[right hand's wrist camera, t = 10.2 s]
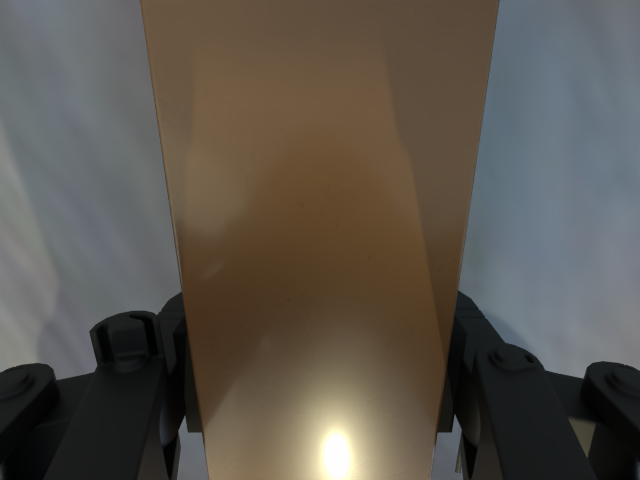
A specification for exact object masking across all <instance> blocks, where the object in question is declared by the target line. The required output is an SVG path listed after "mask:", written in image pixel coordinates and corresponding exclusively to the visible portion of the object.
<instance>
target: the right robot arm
mask: <svg viewBox="0 0 640 480" xmlns="http://www.w3.org/2000/svg"><path fill="white" fill-rule="evenodd" d="M89 333H90V337H91V341H92V345H93V349H94V353H95V357H96V361H97V365H98V366H97V368H96V370H95V372H93V373H89V374H86V375H81V376H76V377H71V378H66V379H61V380H56V377H55V374H54V370H53V369H52V368H51V367H50V366H49V365H46V364H40V363H34V364H25V365H19V366H16V367H12V368H9V369H6V370H5V371H3V372H1V373H0V480H177V473H178V465H179V457H180V449H181V446H180V439H179V433H178V430H179V428H180V425H181V423H182V421H183V418H184V416H186V423H187V429H188V432H202V429H201V422H200V415H199V408H198V401H197V394H196V387H195V380H194V373H193V366H192V359H191V352H190V345H189V338H188V331H187V324H186V317H185V310H184V303H183V296H182V292H181V293H179V294H177V295H176V296H174V297H173V298H171V299H170V300H168V302H167V303H166V304H165V306H164V307H163V308H162V310H161V312H159V314H158V315H155V314H154V313H152V312H148V311H129V312H124V313H119V314H117V315H114V316H111V317H108V318H106V319H104V320H103V321H101V322H99V323H98V324H96V325H95V326H94V327H93V328H92V329H91V330H90V331H89ZM454 415H456V417H457V419H458V422H459V424H460V426H461V429H462V433H461V439H460V445H459V451H458V456H457V462H456V469H455V472H457V473H460V472H461V466H462V472H463V480H640V371H639V370H637V369H635V368H634V367H631V366H628V365H624V364H620V363H613V362H604V361H602V362H595V363H592V364H591V365H589V366H588V367H587V369H586V373H585V376H584V379H582V378H577V377H573V376H568V375H563V374H558V373H553V372H549V371H546V370H545V369H544V367H543V365H542V364H541V363H540V361H539V360H538V359H537V358H536V357H535V356H534V355H532V354H531V353H530V352H528V351H527V350H525V349H522V348H520V347H518V346H515V345H512V344H508V343H505V342H504V341H503V339H502V338H501V337H500V336H499V334H498V333H497V332H496V330H495V329H494V328H493V326H492V325H491V324H490V323H489V321H488V320H487V319H485V316H484V315H483V314H482V312H481V311H480V310H479V308H478V307H477V306H476V304H475V303H474V302H473V301H472V299H471V298H469V297H468V296H466V295H464V294H463V293H461V292H460V291H458V293H457V300H456V307H455V314H454V321H453V328H452V335H451V342H450V349H449V356H448V363H447V370H446V377H445V384H444V390H443V397H442V404H441V411H440V418H439V425H438V432H452V427H453V421H454Z"/></svg>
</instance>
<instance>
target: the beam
mask: <svg viewBox="0 0 640 480" xmlns="http://www.w3.org/2000/svg"><path fill="white" fill-rule="evenodd" d="M140 2H141V9H142V16H143V23H144V30H145V37H146V44H147V51H148V58H149V65H150V72H151V79H152V86H153V93H154V100H155V107H156V114H157V121H158V128H159V135H160V142H161V149H162V156H163V163H164V170H165V177H166V184H167V191H168V198H169V205H170V212H171V219H172V226H173V233H174V240H175V247H176V254H177V261H178V268H179V275H180V282H181V289H182V296H183V303H184V310H185V317H186V324H187V331H188V338H189V345H190V352H191V359H192V366H193V373H194V380H195V387H196V394H197V401H198V408H199V415H200V422H201V429H202V436H203V443H204V450H205V457H206V464H207V471H208V478H209V480H431V474H432V467H433V460H434V453H435V446H436V439H437V432H438V425H439V418H440V411H441V404H442V397H443V390H444V384H445V377H446V370H447V363H448V356H449V349H450V342H451V335H452V328H453V321H454V314H455V307H456V300H457V293H458V286H459V279H460V272H461V265H462V258H463V251H464V244H465V237H466V230H467V223H468V216H469V209H470V202H471V195H472V188H473V181H474V174H475V167H476V160H477V153H478V146H479V139H480V132H481V125H482V118H483V111H484V105H485V98H486V91H487V84H488V77H489V70H490V63H491V56H492V49H493V42H494V35H495V28H496V21H497V14H498V7H499V0H140Z"/></svg>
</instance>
